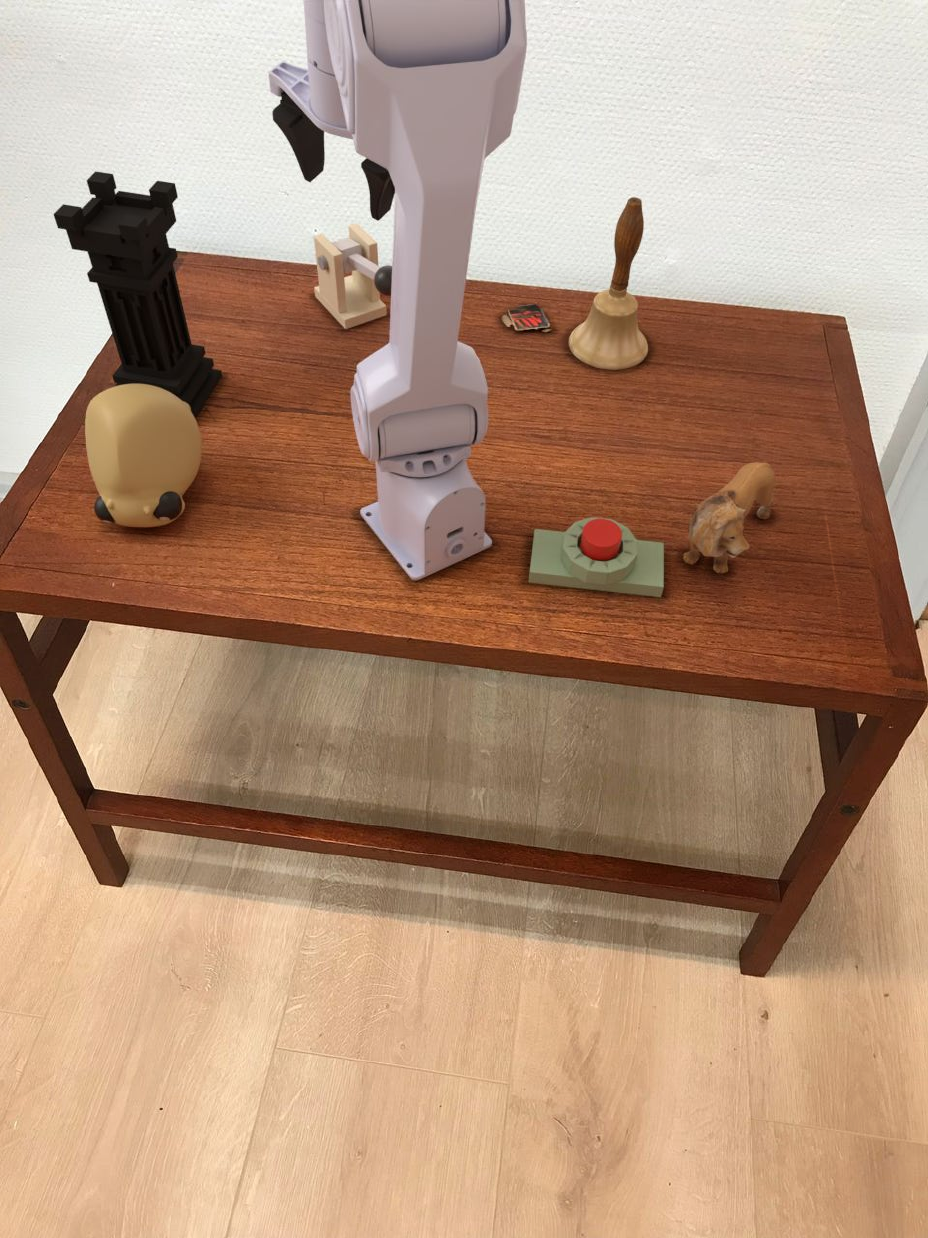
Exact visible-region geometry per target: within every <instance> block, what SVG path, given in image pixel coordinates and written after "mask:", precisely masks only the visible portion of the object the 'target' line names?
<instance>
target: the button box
mask: <svg viewBox="0 0 928 1238" xmlns="http://www.w3.org/2000/svg"><path fill="white" fill-rule="evenodd" d="M594 519H607V520H611V521H613V522H614V523H616V524H617V525H618V526H619V527H620V529H621V531H622V539H621V544H620V548H619V552H618V554H617V555H616V556H615V557H614V558H612V559H610V560H607V561H597V560H593V559H591V558H589V557H587V556H586V555H585V554H584V553H583V551H582V550H581V546H580V544H581V538H582V532H583V528H584V526H585V525H586V523H588V522H589V521H591V520H594ZM527 583H529V584H531V583H532V584H539V585H548V586H557V587H565V588H576V589H584V590H591V591H592V590H593V591H599V592H601V591H602V592H609V593H620V594H627V595H637V596H646V597H656V598H662V595H663V591H664V588H665V543H664V542H662V541H661V542H659V541H651V540H642V539H637V538H636V537H635V535H634V534H633V532H632V531H631V530H630V528H629V527H627V526H626V525H623V524H621V523H620V522H618V521H616V520H614V519H612V518H606V517H599V516H598V517H596V516H591V517H587V518H584V519H581V520H577V521H574V522H573V524H571V526H570V527H568V528H567V529H566V531H558V530H551V529H541V528H534V530H533V538H532V548H531V555H530V565H529V574H528V582H527Z"/></svg>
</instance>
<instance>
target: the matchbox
mask: <svg viewBox="0 0 928 1238" xmlns="http://www.w3.org/2000/svg"><path fill="white" fill-rule="evenodd" d="M507 312H508V314H504V315H502V316H501V322H503V324H504V325H505V326H506V327H507V328H511V326H513V327H514V330H515V331H524V330H532V329H534V330H538V329H541V328H543V330H542V332H544V333H548V332H551V331H553V329H552V328H550V329H549V327H550V325H551V323H550V322H549V319H548V318H547V316H546V314H545V311H544V310H543V309H542V308H540V307H539V306H538V305H537V303H534V304H533V303H531V304H529V303H528V304H522V305H517V306H515V307H513V308H509V309H507ZM544 328H545V329H544Z"/></svg>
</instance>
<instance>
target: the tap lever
mask: <svg viewBox="0 0 928 1238" xmlns="http://www.w3.org/2000/svg"><path fill="white" fill-rule="evenodd" d="M331 243H332V244H333V245H334V246H335V247H336V248H337V249H338V250H339V251H340V252H341V253H342V256H343V268H344V274H349V273H352V271H355V270H358V271H359V272H361V273H363V274H364V275H366V276H368V277H369V278H371V279H372V280H374V284H375V287H376V289H377V290H378V291H379V292H380V295H383V296H387V297H391V286H392V265H389V264H388V265H387V264H386V265H383V266H379V264H378V265H376V264H374V263H373V262H371V261H369V260H367V259H366V258H364V257H362V252H361V246H360V244H358V243H357V242H355V241H353V240H352V239H350V238H349V237H345V238H342V239H338V240H335V241H331Z"/></svg>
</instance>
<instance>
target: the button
mask: <svg viewBox="0 0 928 1238" xmlns="http://www.w3.org/2000/svg"><path fill="white" fill-rule="evenodd" d="M607 519H608V518H607ZM607 519H594V520H591V521H589V522H588V523H586V525H585V526H584V528H583V532H582V538H581V544H580V546H581V550H582V551H583V553H584V554H585V555H586V556H587V557H589V558H591V559H593V560H597V561H607V560H610V559H612V558H614V557H615V556H616V555H617V554H618V552H619V548H620V544H621V539H622V531H621V529H620V527H619V526H618V525H617V524H616V523H614V522H613V521H611V520H607Z"/></svg>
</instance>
